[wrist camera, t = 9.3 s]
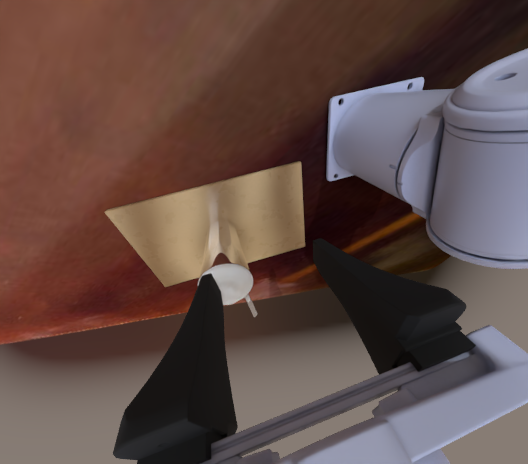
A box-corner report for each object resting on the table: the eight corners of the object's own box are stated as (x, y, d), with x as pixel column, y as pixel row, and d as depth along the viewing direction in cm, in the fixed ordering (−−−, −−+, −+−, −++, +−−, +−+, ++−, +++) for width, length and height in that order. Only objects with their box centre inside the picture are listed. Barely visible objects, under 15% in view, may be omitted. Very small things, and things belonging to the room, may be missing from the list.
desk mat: (299, 160, 20) (301, 162, 19) (303, 244, 27) (305, 246, 27) (106, 209, 18) (104, 212, 18) (166, 284, 25) (165, 287, 25)
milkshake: (229, 254, 24) (237, 330, 16) (193, 234, 21) (182, 313, 13) (253, 232, 23) (275, 301, 15) (219, 206, 20) (224, 276, 12)
